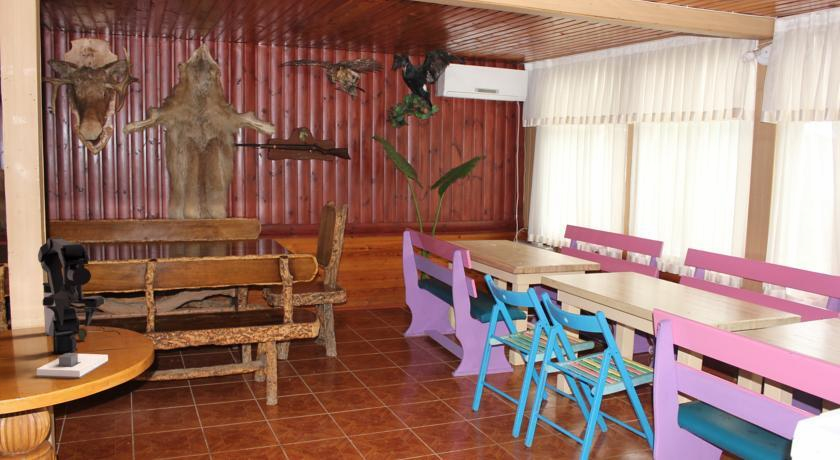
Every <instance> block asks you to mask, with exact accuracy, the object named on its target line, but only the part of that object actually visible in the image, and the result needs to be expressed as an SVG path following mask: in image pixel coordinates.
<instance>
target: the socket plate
mask: <svg viewBox="0 0 840 460" xmlns="http://www.w3.org/2000/svg"><path fill="white" fill-rule="evenodd" d="M70 354H74V353H73V352H71V353H70ZM77 354H78V364H77V365H75V366H73V367H59V357H58V358H55V359H53V360H52V361H50V362H48V363H46V364H44V365H42V366H40V367H38V368H36V377H38V378H57V379H58V378H60V379H82V378H83V377H85V376H87V375H88V374H90V373H92V372H93V371H95V370H97V369H98V368H100V367H102V366H104V365H105V364H107V363H108V362H109V355H108V354H97V353H95V354H94V353H77Z"/></svg>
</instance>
